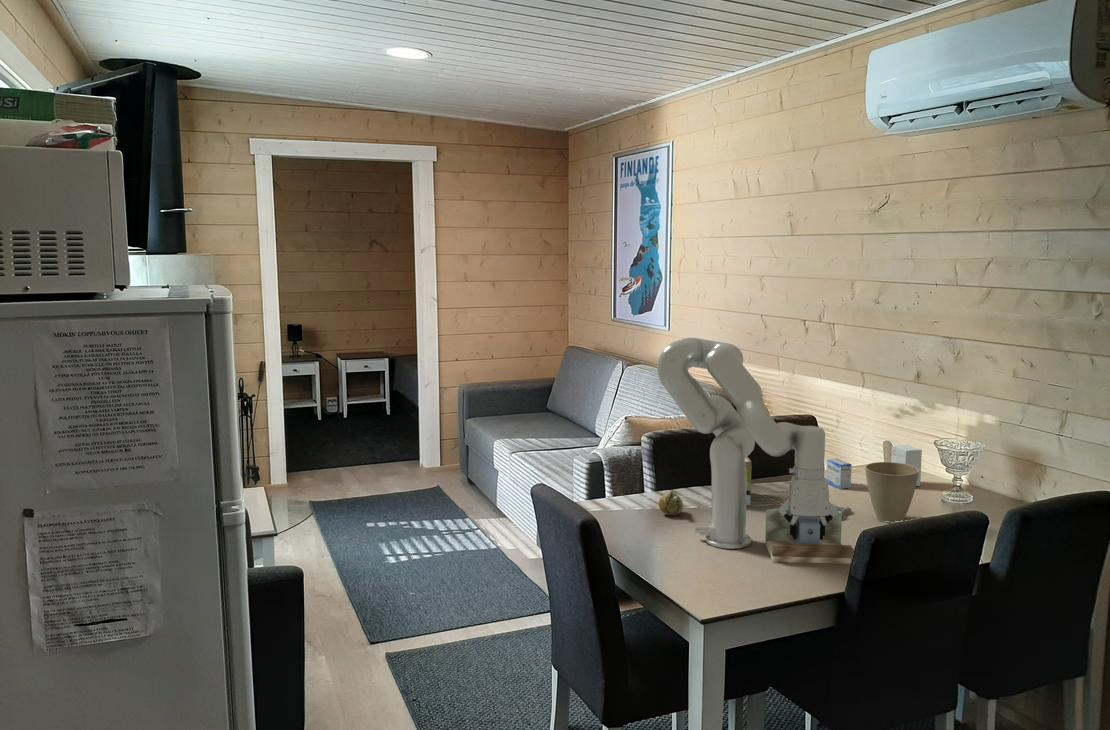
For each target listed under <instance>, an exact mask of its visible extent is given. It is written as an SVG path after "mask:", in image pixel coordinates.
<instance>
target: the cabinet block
mask: <svg viewBox="0 0 1110 730" xmlns="http://www.w3.org/2000/svg"><path fill="white" fill-rule="evenodd" d="M796 525H797V539H795V544H818V545H820V523H819V522H818V520H817V519H816V517H804V516H798V518H797V520H796Z"/></svg>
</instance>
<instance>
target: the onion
mask: <svg viewBox="0 0 1110 730" xmlns="http://www.w3.org/2000/svg"><path fill="white" fill-rule="evenodd" d="M658 507H659V510H660V511H661V512H662V513H663V514H664V515H665V516H669V515H674V516H677V514H678V515H679V514H681V513H682V511H683V509H684V502H683V500H682V499H681V497H680V496H679V494H678V493H677V492H675V491H672V490H670V491H669V492H667V493H665V494H663V495H662V496H661V497H660V498H659V500H658Z"/></svg>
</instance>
